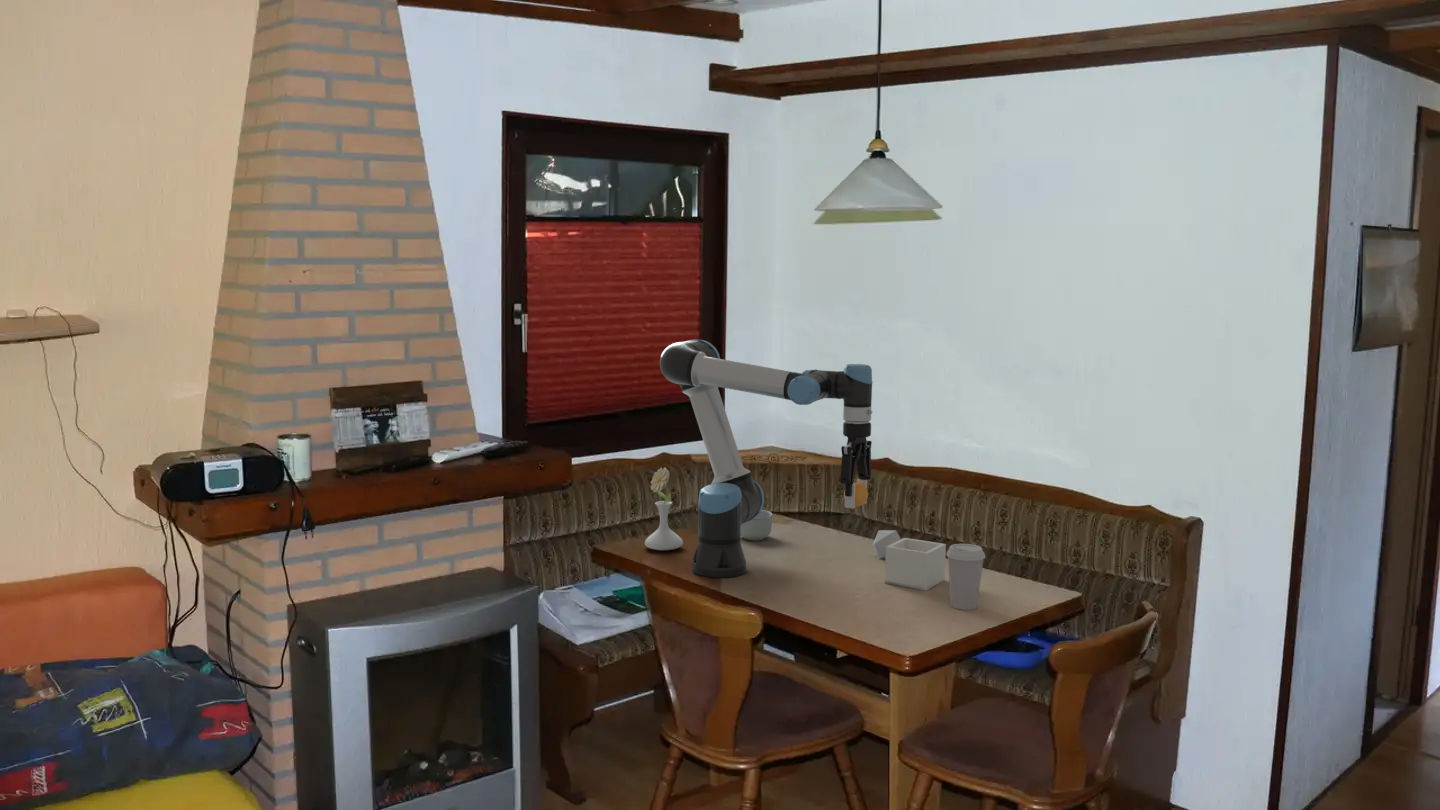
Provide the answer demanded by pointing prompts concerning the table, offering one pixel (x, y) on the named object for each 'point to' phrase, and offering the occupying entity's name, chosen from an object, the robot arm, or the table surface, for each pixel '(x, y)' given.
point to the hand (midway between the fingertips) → (855, 505)
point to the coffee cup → (965, 575)
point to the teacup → (757, 526)
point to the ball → (860, 494)
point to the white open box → (915, 564)
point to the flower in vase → (662, 516)
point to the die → (884, 541)
